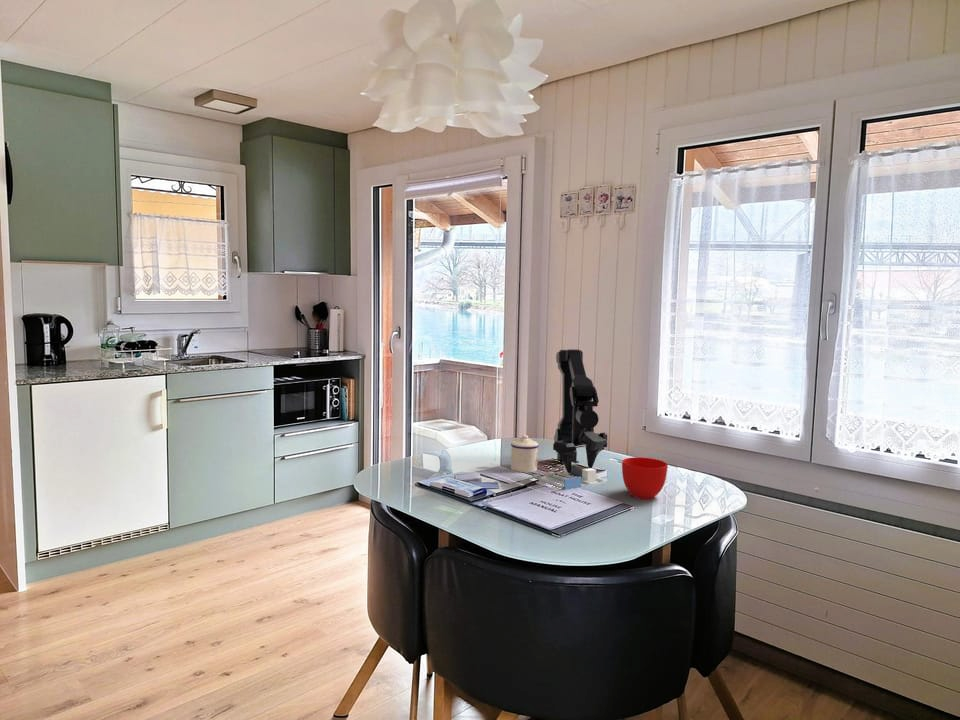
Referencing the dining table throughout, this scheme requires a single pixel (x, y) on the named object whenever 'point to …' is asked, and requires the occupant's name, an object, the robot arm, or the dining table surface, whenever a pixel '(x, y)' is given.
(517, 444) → the cream lidded jar
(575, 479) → the white ribbed plate
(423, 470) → the dining table surface
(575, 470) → the cream and grey dumbbell
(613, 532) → the dining table surface
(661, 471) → the ceramic cup
